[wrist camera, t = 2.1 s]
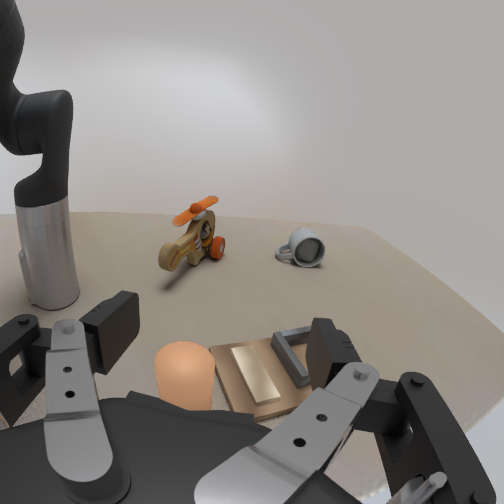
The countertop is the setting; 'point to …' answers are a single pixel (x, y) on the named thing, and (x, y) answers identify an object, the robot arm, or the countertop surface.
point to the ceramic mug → (303, 248)
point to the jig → (265, 373)
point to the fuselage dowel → (185, 375)
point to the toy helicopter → (193, 237)
